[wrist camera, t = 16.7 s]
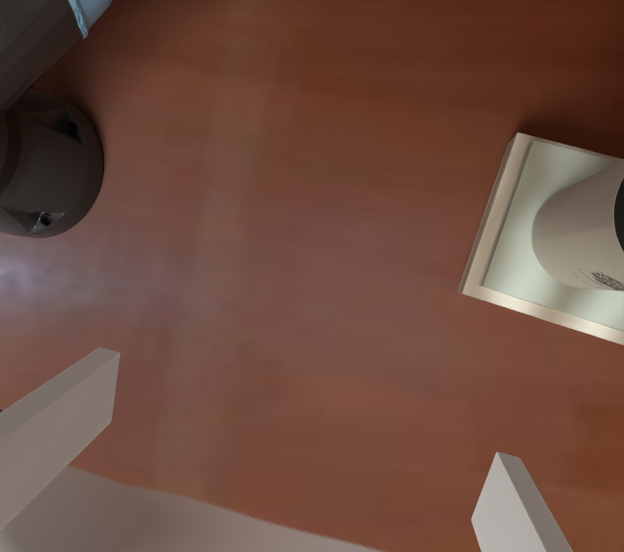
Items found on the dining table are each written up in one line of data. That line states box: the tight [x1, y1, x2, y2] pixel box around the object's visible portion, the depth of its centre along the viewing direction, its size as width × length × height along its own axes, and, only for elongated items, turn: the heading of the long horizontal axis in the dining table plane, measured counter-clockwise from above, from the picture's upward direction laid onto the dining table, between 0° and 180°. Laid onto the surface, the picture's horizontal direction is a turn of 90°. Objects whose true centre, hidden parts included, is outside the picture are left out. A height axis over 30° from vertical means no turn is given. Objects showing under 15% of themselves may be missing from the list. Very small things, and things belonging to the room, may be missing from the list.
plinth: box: [457, 132, 624, 345], centre depth 36 cm, size 14×14×5 cm
